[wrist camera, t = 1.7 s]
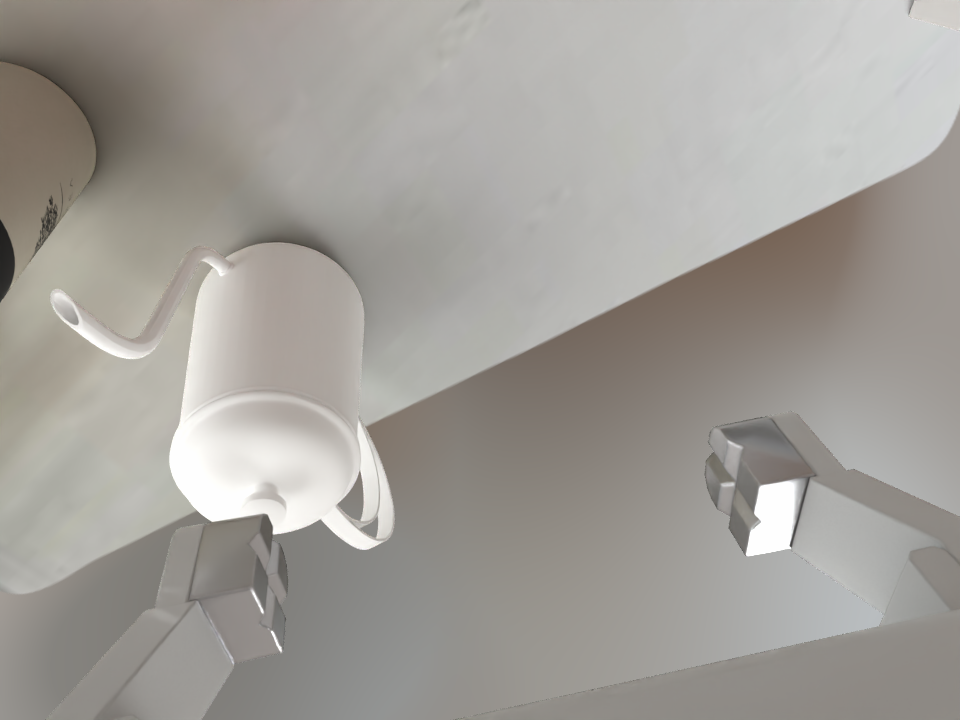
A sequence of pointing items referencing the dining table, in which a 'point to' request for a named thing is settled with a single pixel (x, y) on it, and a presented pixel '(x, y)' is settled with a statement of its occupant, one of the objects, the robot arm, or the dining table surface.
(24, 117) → the travel mug
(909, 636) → the robot arm
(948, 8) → the milk
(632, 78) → the dining table surface
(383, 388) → the dining table surface
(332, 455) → the coffeepot
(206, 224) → the dining table surface
